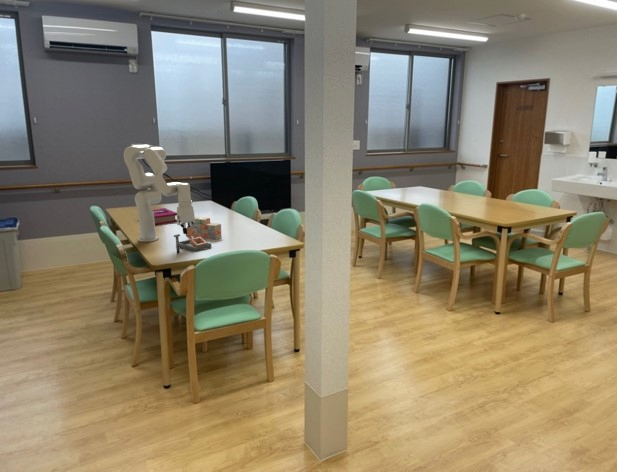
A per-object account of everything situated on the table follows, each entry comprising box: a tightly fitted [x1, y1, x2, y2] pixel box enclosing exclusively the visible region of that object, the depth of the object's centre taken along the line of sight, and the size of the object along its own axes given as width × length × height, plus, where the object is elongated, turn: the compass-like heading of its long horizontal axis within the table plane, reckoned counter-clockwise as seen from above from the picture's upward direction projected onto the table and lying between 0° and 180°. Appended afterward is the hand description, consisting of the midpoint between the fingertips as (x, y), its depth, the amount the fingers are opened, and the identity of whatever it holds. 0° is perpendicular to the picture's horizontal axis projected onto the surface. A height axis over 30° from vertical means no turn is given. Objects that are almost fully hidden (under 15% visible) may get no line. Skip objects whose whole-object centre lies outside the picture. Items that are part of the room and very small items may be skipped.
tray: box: [179, 239, 212, 252], centre depth 283 cm, size 18×13×2 cm
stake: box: [173, 234, 181, 254], centre depth 268 cm, size 2×3×11 cm, turn 138°
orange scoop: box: [185, 227, 207, 247], centre depth 280 cm, size 15×7×6 cm, turn 49°
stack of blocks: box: [191, 216, 223, 240], centre depth 307 cm, size 21×6×12 cm, turn 60°
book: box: [153, 207, 177, 226], centre depth 358 cm, size 21×28×8 cm
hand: (187, 233), depth 285 cm, fingers closed on orange scoop
